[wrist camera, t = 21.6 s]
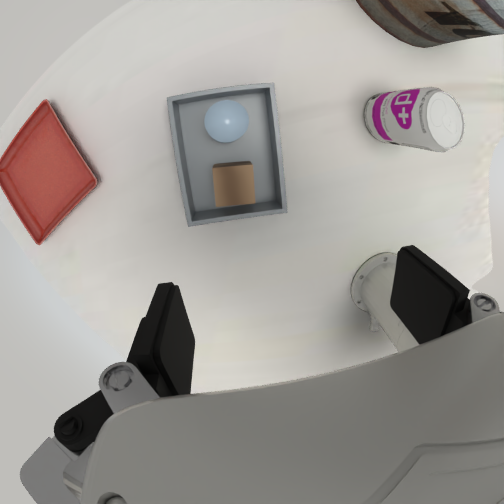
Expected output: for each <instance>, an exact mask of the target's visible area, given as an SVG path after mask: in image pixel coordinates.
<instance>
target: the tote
mask: <svg viewBox="0 0 504 504" xmlns="http://www.w3.org/2000/svg"><path fill="white" fill-rule="evenodd" d="M223 100H232V101H235V102H238V103H239V104H241V105H242V106H243V107H244V108H245V109H246V111H247V113H248V116H249V125H248V128H247V130H246V132H245V133H244V134H243V136H241V137H240V138H239V139H237V140H235V141H233V142H231V143H219V142H217V141H215V140H214V139H212V137H211V136H210V135H209V134H208V132H207V130H206V128H205V124H204V119H205V115H206V113H207V111H208V109H209V108H210V107H211V106H212V105H213V104H215V103H217V102H219V101H223ZM167 103H168V111H169V118H170V125H171V132H172V139H173V145H174V152H175V158H176V164H177V170H178V176H179V181H180V187H181V192H182V197H183V203H184V208H185V213H186V218H187V223H188V227H189V226H196V225H202V224H208V223H215V222H222V221H228V220H235V219H242V218H249V217H257V216H264V215H272V214H279V213H287V201H286V189H285V178H284V167H283V157H282V147H281V138H280V129H279V120H278V112H277V103H276V95H275V87H274V83H261V84H250V85H240V86H231V87H223V88H216V89H210V90H203V91H198V92H192V93H187V94H182V95H177V96H172V97H168V98H167ZM241 161H250V162H251V163H252V164H253V172H254V188H255V204H243V205H232V206H221V207H216V202H215V192H214V182H213V171H212V167H213V165H214V164H219V163H229V162H241Z"/></svg>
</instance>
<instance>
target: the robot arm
mask: <svg viewBox="0 0 504 504" xmlns="http://www.w3.org/2000/svg"><path fill="white" fill-rule="evenodd" d="M469 291H470V290H469V289H468V288H467V287H465V286H464V285H463V284H462V283H461V282H460V281H458V280H457V279H456V278H455V277H454V276H452V275H451V274H450V273H449V272H447V271H446V270H445V269H444V268H443V267H441V266H440V265H439V264H437V263H436V262H435V261H434V260H432V259H431V258H430V257H428V256H427V255H426V254H425V253H423V252H422V251H421V250H419V249H418V248H417V247H415V246H413V245H411V246H405V247H402V248H401V249H400V251H398V253H397V255H396V254H393V253H382V254H379V255H376V256H374V257H372V258H371V259H369V260H368V261H367V262H365V263H364V264H363V265H362V266H361V268H360V269H359V270H358V272H357V273H356V275H355V277H354V280H353V282H352V287H351V295H352V299H353V301H354V303H355V304H356V305H357V307H359V308H360V309H361V310H363V311H367V312H370V314H371V315H370V317H371V319H372V320H371V323H370V330H371V331H372V332H376V331H378V329H379V324H380V325H381V327H382V328H383V330H384V331H385V333H386V334H387V336H388V337H389V339H390V340H391V342H392V343H393V344H394V346H395V347H396V349H397V351H398V353H395V354H392V355H389V356H386V357H383V358H380V359H377V360H373V361H370V362H366V363H363V364H359V365H356V366H352V367H349V368H345V369H341V370H337V371H333V372H329V373H324V374H320V375H316V376H311V377H306V378H301V379H296V380H291V381H286V382H280V383H275V384H268V385H262V386H255V387H248V388H241V389H233V390H224V391H215V392H205V393H196V394H190V392H191V380H192V369H193V359H194V349H195V338H194V334H193V331H192V328H191V325H190V322H189V319H188V316H187V312H186V309H185V306H184V303H183V299H182V296H181V292H180V289H179V286H178V285H174V284H173V283H172V282H169V283H161V284H158V286H157V288H156V291H155V293H154V296H153V299H152V301H151V304H150V306H149V309H148V312H147V315H146V317H144V318H142V320H141V322H140V324H139V327H138V330H137V333H136V335H135V338H134V341H133V344H132V347H131V350H130V352H129V355H128V358H127V361H126V362H119V363H115V364H113V365H110V366H109V367H108V368H106V369H105V370H104V371H103V372H102V374H101V376H100V378H99V386H100V389H101V390H100V391H98V392H96V393H95V394H93V395H92V396H90V397H89V398H87V399H86V400H84V401H82V402H81V403H80V404H78V405H76V406H75V407H73V408H71V409H70V410H68V411H67V412H65V413H64V414H62V415H61V416H60V417H59V418H58V419H57V421H56V423H55V426H54V433H55V436H54V437H53V438H52V439H51V438H50V437H48V438H47V439H46V440H45V441H44V442H43V444H42V445H41V446H40V447H39V448H38V449H37V450H36V451H35V452H34V454H33V455H32V456H31V457H30V458H29V459H28V460H27V461H26V462H25V463H24V465H23V466H22V468H21V471H20V479H21V481H22V484H23V485H24V486H25V488H26V490H27V491H28V492H29V494H30V495H31V496H32V497H33V499H34V500H35V501H36V503H37V504H504V313H503V312H500V310H499V306H498V303H497V302H496V300H495V299H494V298H492V297H491V296H489V295H487V294H483V293H475V294H473V295H472V296H471V298H470V300H469V299H468V298H467V297H468V294H469Z"/></svg>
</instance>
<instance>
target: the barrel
mask: <svg viewBox="0 0 504 504" xmlns="http://www.w3.org/2000/svg"><path fill="white" fill-rule="evenodd" d="M356 1H357V3H358V4H359V6H360V7H361V8H362V9H363V10H364V11H365V13H366V14H367V15H368V16H369V17H370V18H371V19H372V20H373V21H374V22H375V23H376V24H378V25H379V26H380V27H381V28H382V29H384V30H385V31H386V32H388V33H389V34H391V35H392V36H394V37H395V38H397V39H398V40H400V41H403V42H405V43H407V44H410V45H412V46H417V47H422V48H426V47H433V46H437V45H441V44H446V43H450V42H455V41H460V40H465V39H470V38H476V37H483V36H490V35H499V34H504V0H356Z"/></svg>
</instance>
